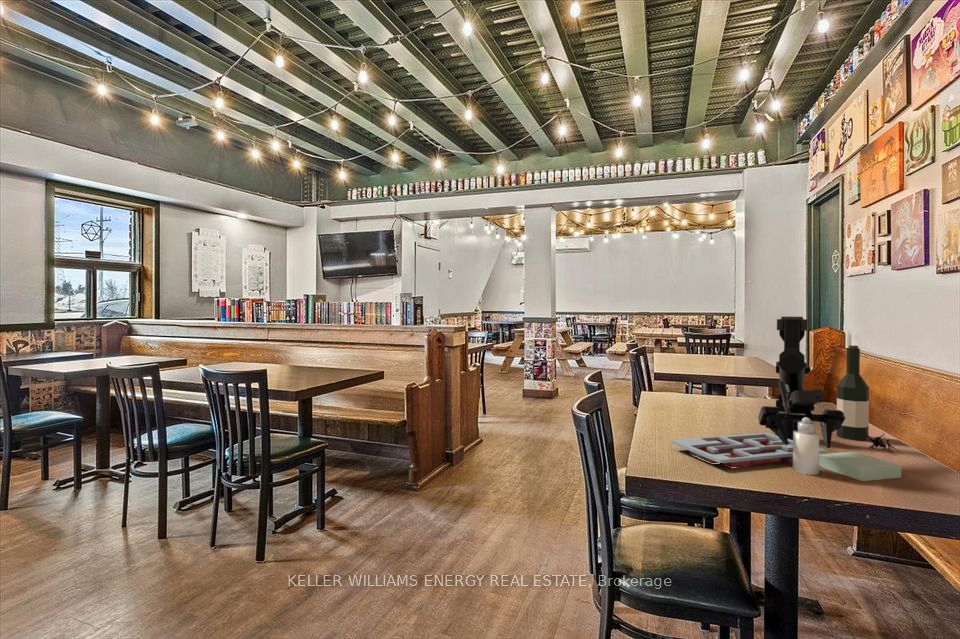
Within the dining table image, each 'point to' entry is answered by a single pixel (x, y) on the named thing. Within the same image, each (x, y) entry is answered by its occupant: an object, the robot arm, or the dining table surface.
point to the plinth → (859, 466)
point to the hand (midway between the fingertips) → (807, 446)
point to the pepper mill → (806, 448)
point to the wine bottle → (853, 399)
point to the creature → (880, 443)
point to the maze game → (740, 449)
